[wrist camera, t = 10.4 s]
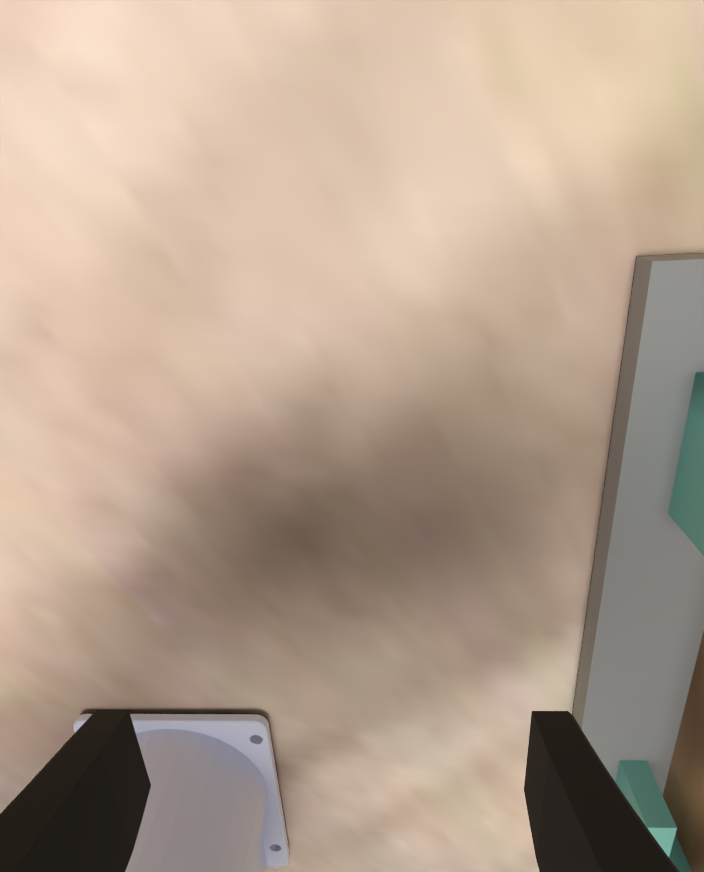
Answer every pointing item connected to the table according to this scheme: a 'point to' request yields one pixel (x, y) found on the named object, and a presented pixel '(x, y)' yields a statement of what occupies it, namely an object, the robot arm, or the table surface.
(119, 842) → the robot arm
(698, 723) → the slat
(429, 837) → the table surface
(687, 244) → the table surface
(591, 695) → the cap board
